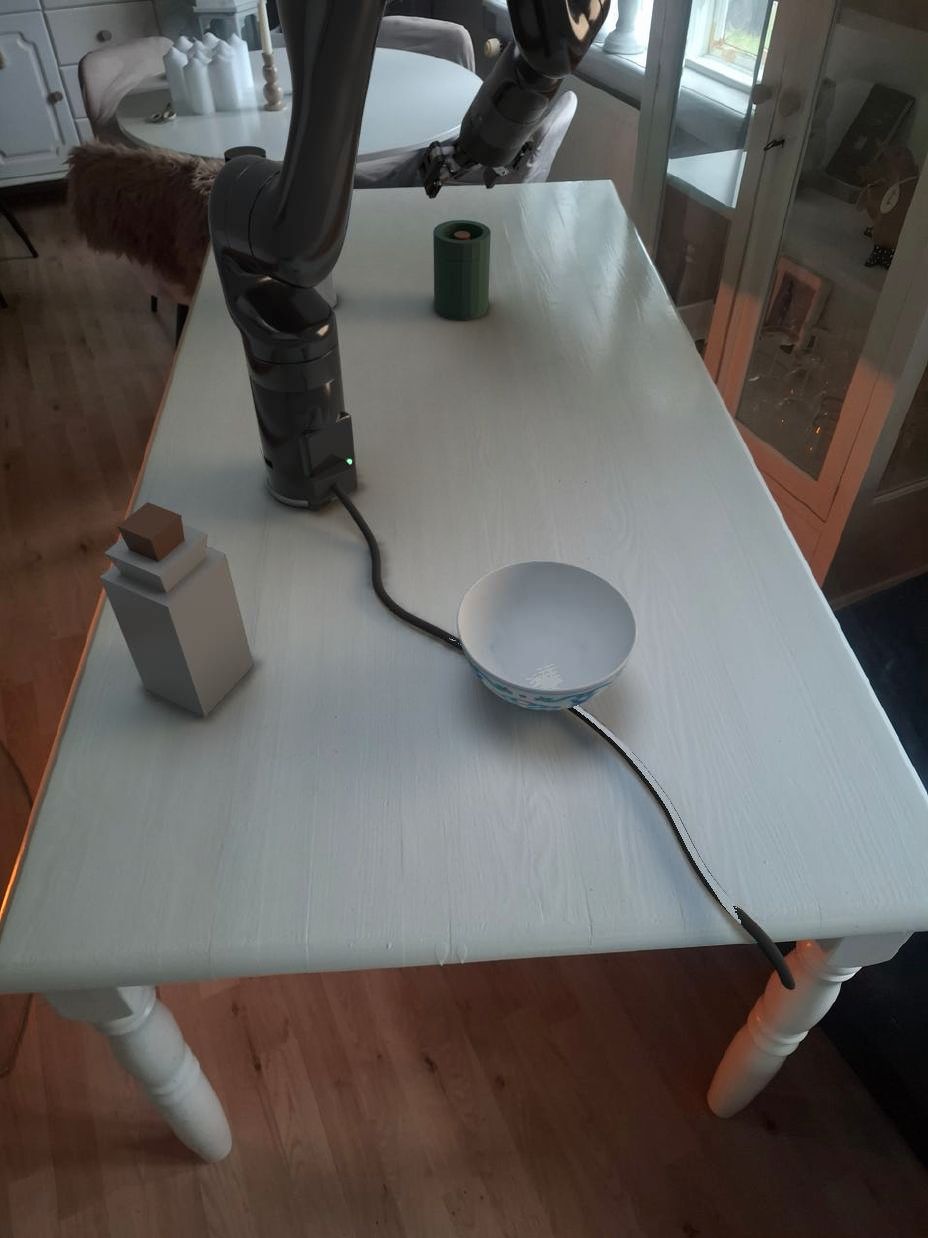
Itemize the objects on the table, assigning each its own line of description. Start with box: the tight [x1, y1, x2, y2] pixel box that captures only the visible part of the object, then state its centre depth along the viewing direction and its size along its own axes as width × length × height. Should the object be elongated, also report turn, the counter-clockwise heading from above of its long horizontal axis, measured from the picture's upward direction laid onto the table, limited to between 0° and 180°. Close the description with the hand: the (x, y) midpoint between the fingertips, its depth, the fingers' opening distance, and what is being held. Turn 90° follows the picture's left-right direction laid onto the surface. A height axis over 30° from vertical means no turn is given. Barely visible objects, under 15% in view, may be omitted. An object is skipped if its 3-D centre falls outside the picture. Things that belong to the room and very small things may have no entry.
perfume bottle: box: [99, 501, 254, 718], centre depth 70 cm, size 7×7×18 cm
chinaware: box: [456, 559, 638, 712], centre depth 74 cm, size 15×15×8 cm
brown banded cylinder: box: [454, 231, 470, 240], centre depth 122 cm, size 2×2×10 cm
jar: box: [432, 219, 492, 321], centre depth 122 cm, size 8×8×11 cm
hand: (458, 186), depth 115 cm, fingers open, 8 cm apart
